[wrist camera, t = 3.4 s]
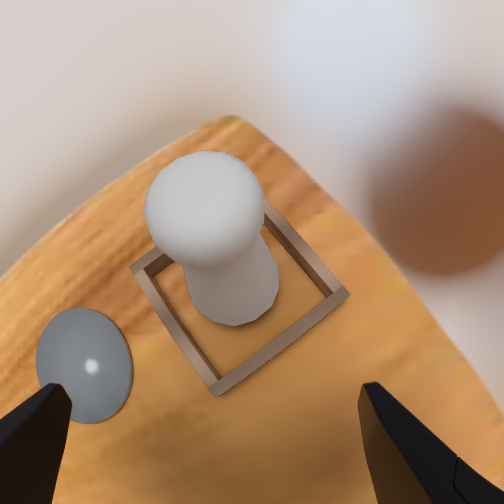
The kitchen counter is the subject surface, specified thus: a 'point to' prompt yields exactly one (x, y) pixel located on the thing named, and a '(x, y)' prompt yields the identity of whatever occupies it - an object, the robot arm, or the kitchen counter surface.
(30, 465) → the robot arm
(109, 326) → the coaster
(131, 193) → the kitchen counter surface
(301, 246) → the square wooden frame
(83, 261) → the kitchen counter surface
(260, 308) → the salt shaker
